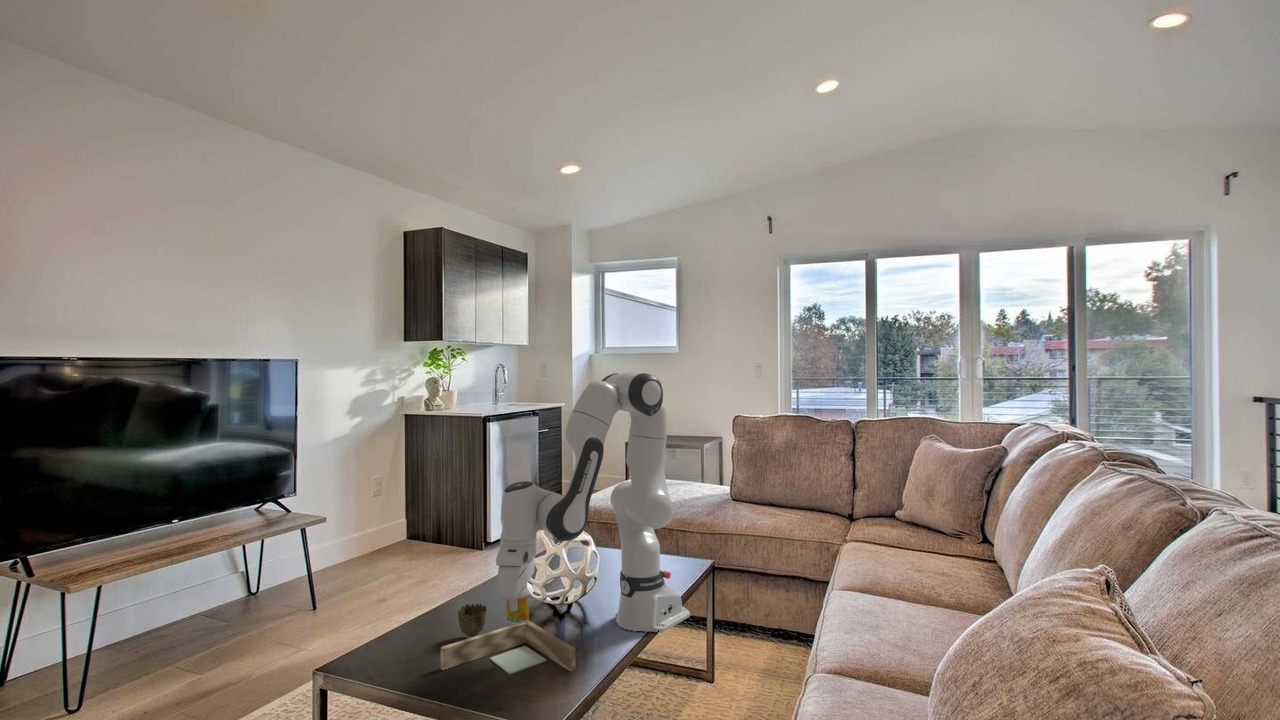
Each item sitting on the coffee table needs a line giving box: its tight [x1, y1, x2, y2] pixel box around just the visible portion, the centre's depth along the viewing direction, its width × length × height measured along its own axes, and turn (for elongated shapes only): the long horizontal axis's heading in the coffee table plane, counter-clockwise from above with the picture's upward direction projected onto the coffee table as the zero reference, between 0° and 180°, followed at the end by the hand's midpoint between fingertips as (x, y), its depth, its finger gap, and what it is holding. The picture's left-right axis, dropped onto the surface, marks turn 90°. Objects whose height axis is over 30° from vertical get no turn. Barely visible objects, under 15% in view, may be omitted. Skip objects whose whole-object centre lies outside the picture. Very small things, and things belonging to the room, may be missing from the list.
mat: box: [489, 645, 547, 675], centre depth 145 cm, size 10×10×1 cm
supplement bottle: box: [506, 581, 530, 625], centre depth 146 cm, size 5×5×10 cm
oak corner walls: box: [439, 619, 576, 672], centre depth 141 cm, size 24×22×5 cm
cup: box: [457, 603, 487, 639], centre depth 158 cm, size 8×7×8 cm
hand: (517, 605), depth 146 cm, fingers closed on supplement bottle, 5 cm apart
